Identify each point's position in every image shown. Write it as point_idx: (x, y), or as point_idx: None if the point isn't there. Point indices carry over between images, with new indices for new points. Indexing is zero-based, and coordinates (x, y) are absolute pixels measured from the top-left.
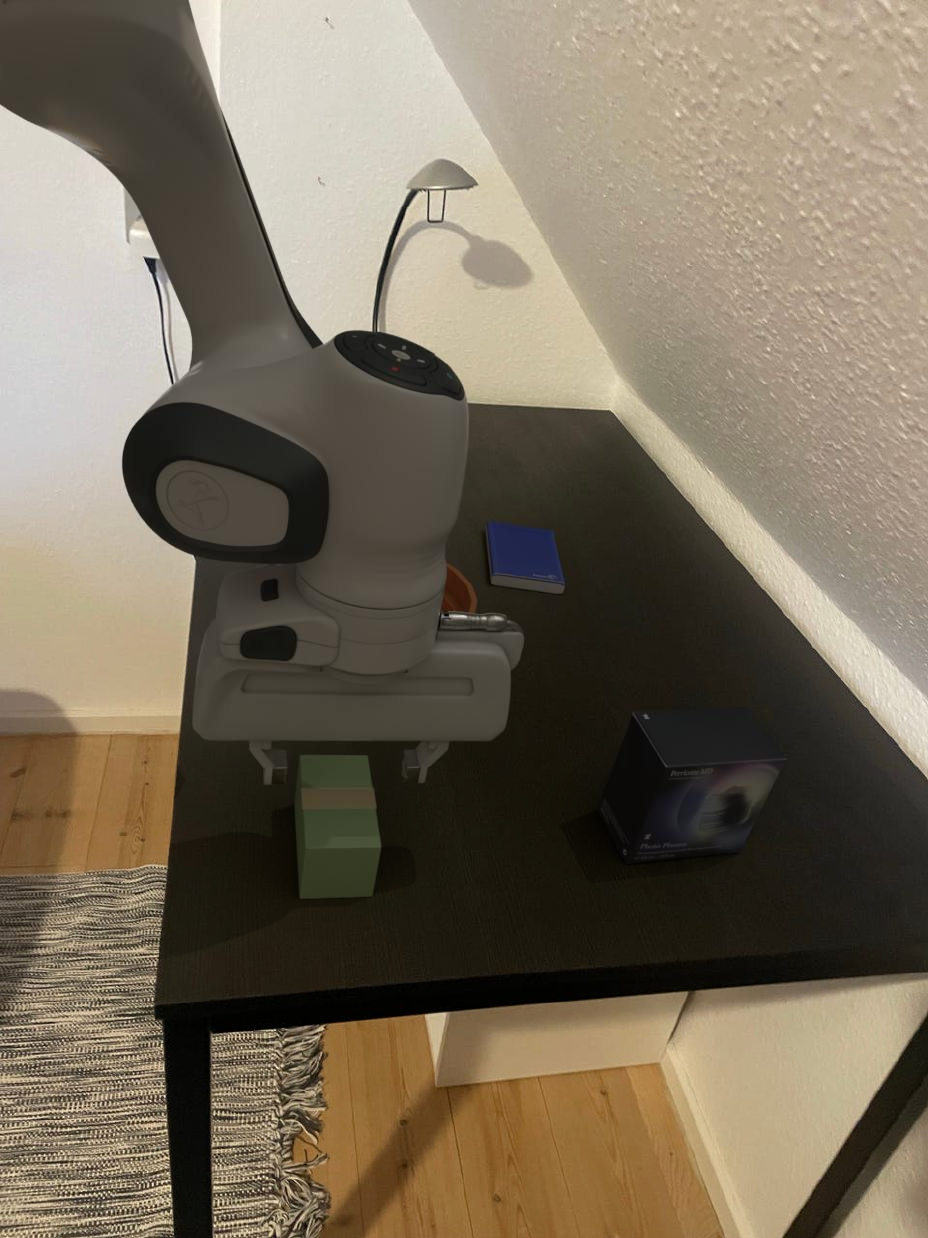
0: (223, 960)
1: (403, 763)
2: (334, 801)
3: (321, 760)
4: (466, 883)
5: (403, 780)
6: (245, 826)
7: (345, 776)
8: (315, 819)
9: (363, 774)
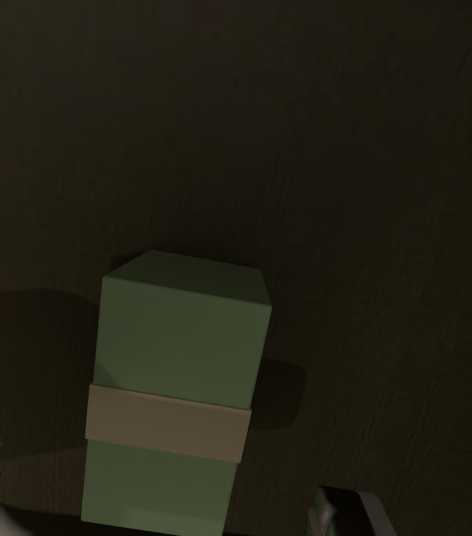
0: (30, 476)
1: (325, 518)
2: (155, 432)
3: (151, 307)
4: (361, 440)
5: (307, 524)
6: (68, 280)
7: (198, 366)
8: (109, 464)
9: (241, 367)
